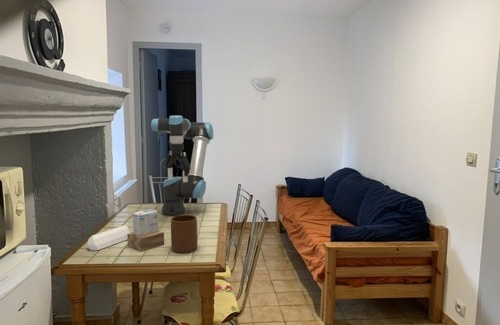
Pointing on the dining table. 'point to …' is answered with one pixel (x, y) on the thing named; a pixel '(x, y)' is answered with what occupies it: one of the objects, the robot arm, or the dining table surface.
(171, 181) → the robot arm
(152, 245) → the walnut block
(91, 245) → the crystal
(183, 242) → the mug
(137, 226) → the light bulb box
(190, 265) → the dining table surface
